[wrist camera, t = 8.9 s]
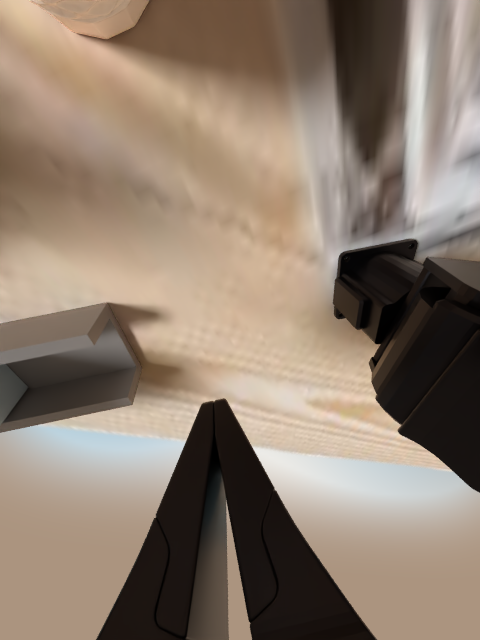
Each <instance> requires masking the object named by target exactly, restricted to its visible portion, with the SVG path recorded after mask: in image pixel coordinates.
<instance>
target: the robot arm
mask: <svg viewBox="0 0 480 640" xmlns="http://www.w3.org/2000/svg"><path fill="white" fill-rule="evenodd" d="M410 244H411V246H410V247H409V245H410ZM417 244H418V243H417V241H416V240H413V239H406V240H401V241H396V242H391V243H386V244H381V245H376V246H371V247H366V248H361V249H355V250H350V251H345V252H343V253H341V254H340V256H339V259H338V271H337V278H336V279H335V286H334V298H333V304H334V305H335V306H334V316H335V317H336V318H337V319H343V318H346V319H347V320H348V321H349V322H350V323H351V324H352V325H353V326H354V327H355V328H356V329H357V330H360V329H362V330H363V331H364V332H365V333H366V334H367V335H368V336H369V338H370V339H371V340H372V341H373V342H374V343H375V344H380V346H379V348H378V350H377V352H376V353H375V355H374V357H372V358H371V359H370V361H369V366H370V368H371V371H372V381H371V382H372V384H373V387H374V389H375V392H376V394H377V395H376V400H377V402H378V403H379V404H380V406H381V407H382V408H383V409H384V411H385V412H386V413H387V414H388V415H390V416H391V417H392V418H393V419H394V420H395V421H396V422H398V423H399V424H400V425H401V426H400V428H399V429H398V432H399V434H401V435H402V436H404V437H406V438H408V439H410V440H412V441H414V442H416V443H418V444H419V445H421V446H422V447H424V448H425V449H427V450H428V451H430V452H431V453H432V454H434V455H435V456H436V457H438V458H439V459H440V460H441V461H442V462H443V463H445V464H446V465H447V466H448V467H449V468H450V469H451V470H452V471H453V472H455V473H456V474H457V475H458V476H459V477H460V478H461V479H462V480H463V481H464V482H465V483H466V484H468V485H469V486H470V487H471V488H473V489H474V490H476V491H478V492H480V262H477V261H466V260H456V259H445V258H434V257H427V258H426V260H425V262H424V263H423V264H421V263H419V262H417V261H415V260H414V256H415V252H416V249H417ZM346 256H347V259H346V260H344V258H345V257H346ZM339 313H341V314H339ZM226 500H227V506H228V511H229V516H230V522H231V527H232V533H233V537H234V543H235V549H236V554H237V560H238V565H239V570H240V576H241V581H242V587H243V592H244V597H245V603H246V608H247V614H248V619H249V622H250V623H251V624H250V630H251V635H252V640H377V639H376V638H375V637H374V635H373V634H372V633H371V632H370V630H369V629H368V627H367V626H366V625H365V623H364V622H363V621H362V619H361V618H360V617H359V615H358V614H357V613H356V611H355V610H354V609H353V607H352V606H351V604H350V603H349V601H348V600H347V599H346V598H345V596H344V594H343V593H342V592H341V590H340V589H339V587H338V586H337V584H336V583H335V582H334V580H333V579H332V577H331V576H330V575H329V573H328V571H327V570H326V569H325V567H324V566H323V564H322V563H321V562H320V560H319V559H318V558H317V556H316V554H315V553H314V552H313V550H312V549H311V547H310V546H309V544H308V543H307V541H306V540H305V538H304V537H303V535H302V534H301V532H300V531H299V529H298V528H297V526H296V525H295V523H294V521H293V520H292V518H291V516H290V515H289V513H288V511H287V509H286V508H285V506H284V504H283V502H282V501H281V499H280V497H279V495H278V493H277V491H275V489H274V486H273V485H272V483H271V481H270V479H269V477H268V475H267V474H266V472H265V470H264V468H263V466H262V464H261V462H260V461H259V459H258V457H257V455H256V454H255V451H254V450H253V448H252V446H251V444H250V442H249V440H248V439H247V437H246V435H245V433H244V431H243V429H242V428H241V426H240V424H239V422H238V420H237V418H236V417H235V415H234V413H233V411H232V409H231V408H230V406H229V404H228V402H227V400H226V399H225V398H223V399H219V400H215V401H209V402H205V403H203V404H202V405H201V407H200V409H199V412H198V414H197V417H196V419H195V421H194V424H193V426H192V429H191V431H190V434H189V436H188V438H187V441H186V443H185V446H184V448H183V450H182V453H181V455H180V458H179V460H178V463H177V465H176V467H175V470H174V472H173V474H172V477H171V479H170V482H169V484H168V486H167V489H166V491H165V494H164V496H163V499H162V501H161V503H160V506H159V508H158V511H157V513H156V517H157V518H154V520H153V522H152V525H151V527H150V530H149V532H148V534H147V537H146V539H145V541H144V543H143V546H142V548H141V550H140V553H139V555H138V557H137V559H136V561H135V563H134V566H133V568H132V570H131V572H130V574H129V576H128V578H127V580H126V582H125V584H124V586H123V588H122V590H121V592H120V594H119V596H118V598H117V600H116V602H115V604H114V606H113V608H112V610H111V612H110V614H109V616H108V617H107V619H106V621H105V623H104V625H103V627H102V629H101V631H100V633H99V635H98V637H97V639H96V640H229V635H228V584H227V583H228V580H227V525H226Z"/></svg>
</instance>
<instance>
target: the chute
mask: <svg viewBox="0 0 480 640" xmlns="http://www.w3.org/2000/svg"><path fill="white" fill-rule="evenodd" d="M2 364H6V365H7V366H8V367H9V368H10V369H11V370H12V371H13V372H14V373H15V374H16V375H17V376H18V377H19V378H20V379H21V380H22V381H23V382H24V383H25V384H26V385H27V386H28V389H27V390H26V391H25V393H24V394H23V396H22V397H21V398H20V400H19V401H18V402H17V404H16V405H15V406H14V408H13V409H12V410H11V412H10V413H9V414H8V416H7V417H6V419H5V420H4V421H3V423H2V424H1V425H0V433H1V432H6V431H11V430H15V429H20V428H25V427H30V426H34V425H39V424H44V423H49V422H53V421H58V420H63V419H68V418H72V417H77V416H82V415H87V414H91V413H96V412H101V411H106V410H110V409H115V408H120V407H125V406H129V405H132V404H133V401H134V397H135V393H136V390H137V386H138V382H139V378H140V375H141V371H142V367H141V365H140V363H139V361H138V360H137V358H136V356H135V354H134V352H133V350H132V348H131V346H130V345H129V343H128V341H127V339H126V337H125V335H124V333H123V331H122V330H121V328H120V326H119V324H118V322H117V320H116V318H115V316H114V315H113V313H112V311H111V309H110V307H109V305H108V303H103V304H98V305H93V306H88V307H82V308H77V309H72V310H67V311H62V312H57V313H52V314H47V315H42V316H37V317H32V318H27V319H22V320H17V321H12V322H6V323H1V324H0V365H2Z"/></svg>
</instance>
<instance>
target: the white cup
mask: <svg viewBox="0 0 480 640" xmlns="http://www.w3.org/2000/svg"><path fill="white" fill-rule="evenodd" d="M28 1H30V2H32V3H34V4H36V5H38V6H39V7H41V8H42V9H43V10H45V11H46V12H47V13H48V14H50V15H51V16H52V17H54V18H55V19H56V20H58V21H59V22H60V23H61V24H63V25H64V26H65V27H67V28H68V29H69V30H71V31H72V32H75V33H79V34H84V35H88V36H93V37H98V38H102V39H109V38H111V37H113V36H115V35H118V34H120V33H122V32H124V31H126V30H128V29H130V28H133V27H134V26H135V25H136V23H137V22H138V20H139V18H140V16H141V15H142V13H143V11H144V9H145V8H146V6H147V4H148V2H149V1H150V0H28Z"/></svg>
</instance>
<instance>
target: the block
mask: <svg viewBox="0 0 480 640" xmlns="http://www.w3.org/2000/svg"><path fill="white" fill-rule="evenodd" d="M27 389H28V386H27V385H26V384H25V383H24V382H23V381H22V380H21V379H20V378H19V377H18V376H17V375H16V374H15V373H14V372H13V371H12V370H11V369H10V368H9V367H8V366H7V365H6V364H2V365H0V425H1V424H2V423H3V421H4V420H5V419H6V417H7V416H8V414H9V413H10V412H11V410H12V409H13V408H14V406H15V405H16V404H17V402H18V401H19V400H20V398H21V397H22V396H23V394H24V393H25V391H26V390H27Z"/></svg>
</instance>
